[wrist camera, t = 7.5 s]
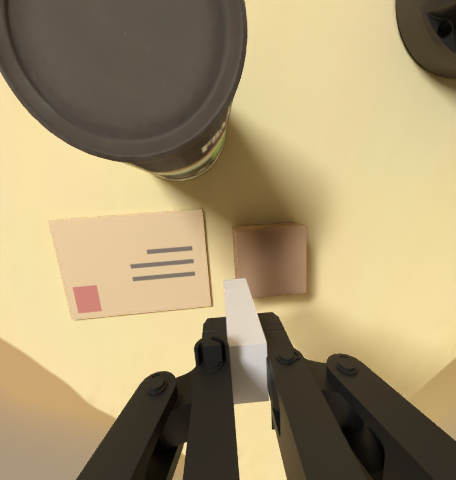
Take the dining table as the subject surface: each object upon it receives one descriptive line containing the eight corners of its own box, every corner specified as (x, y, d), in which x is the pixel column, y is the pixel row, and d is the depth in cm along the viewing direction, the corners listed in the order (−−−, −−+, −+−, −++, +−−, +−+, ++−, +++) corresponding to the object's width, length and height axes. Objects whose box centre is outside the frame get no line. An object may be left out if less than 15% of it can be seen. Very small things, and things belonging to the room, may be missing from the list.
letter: (202, 208, 24) (202, 209, 24) (211, 304, 27) (211, 306, 26) (50, 219, 23) (48, 220, 23) (73, 318, 26) (71, 320, 25)
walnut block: (292, 221, 26) (306, 226, 22) (292, 278, 27) (306, 292, 23) (232, 226, 25) (236, 232, 21) (235, 283, 27) (240, 299, 23)
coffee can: (235, 88, 22) (276, -86, 8) (214, 190, 24) (218, 185, 10) (130, 57, 21) (-22, -203, 7) (116, 168, 23) (-27, 127, 9)
